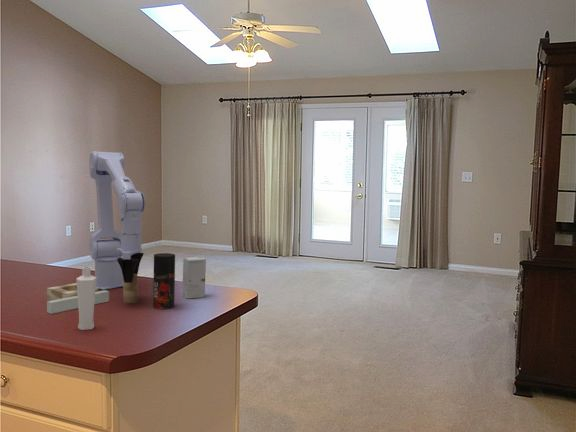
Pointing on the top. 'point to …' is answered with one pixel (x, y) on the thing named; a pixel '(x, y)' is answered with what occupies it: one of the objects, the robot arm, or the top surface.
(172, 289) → the deodorant
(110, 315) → the top surface
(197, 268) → the skincare box
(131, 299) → the oak dowel
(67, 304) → the backstop wall
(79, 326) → the white pump bottle
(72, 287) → the socket block
